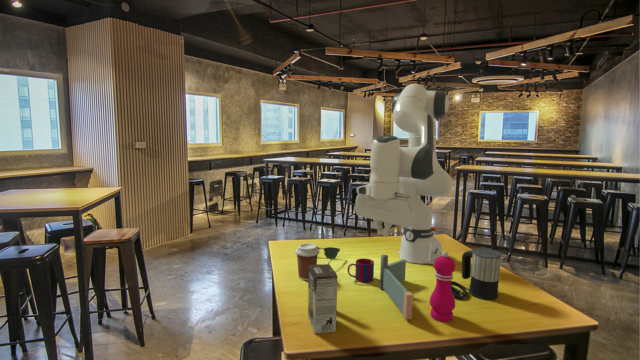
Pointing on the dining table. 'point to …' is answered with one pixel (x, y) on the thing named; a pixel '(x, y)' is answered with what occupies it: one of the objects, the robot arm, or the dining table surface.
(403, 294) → the grey-green hurdle bar
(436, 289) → the pepper mill
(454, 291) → the milk frother
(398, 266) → the fence
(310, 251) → the coffee cup
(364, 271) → the mug
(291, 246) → the dining table surface
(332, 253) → the sunglasses
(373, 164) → the robot arm
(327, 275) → the coffee box
